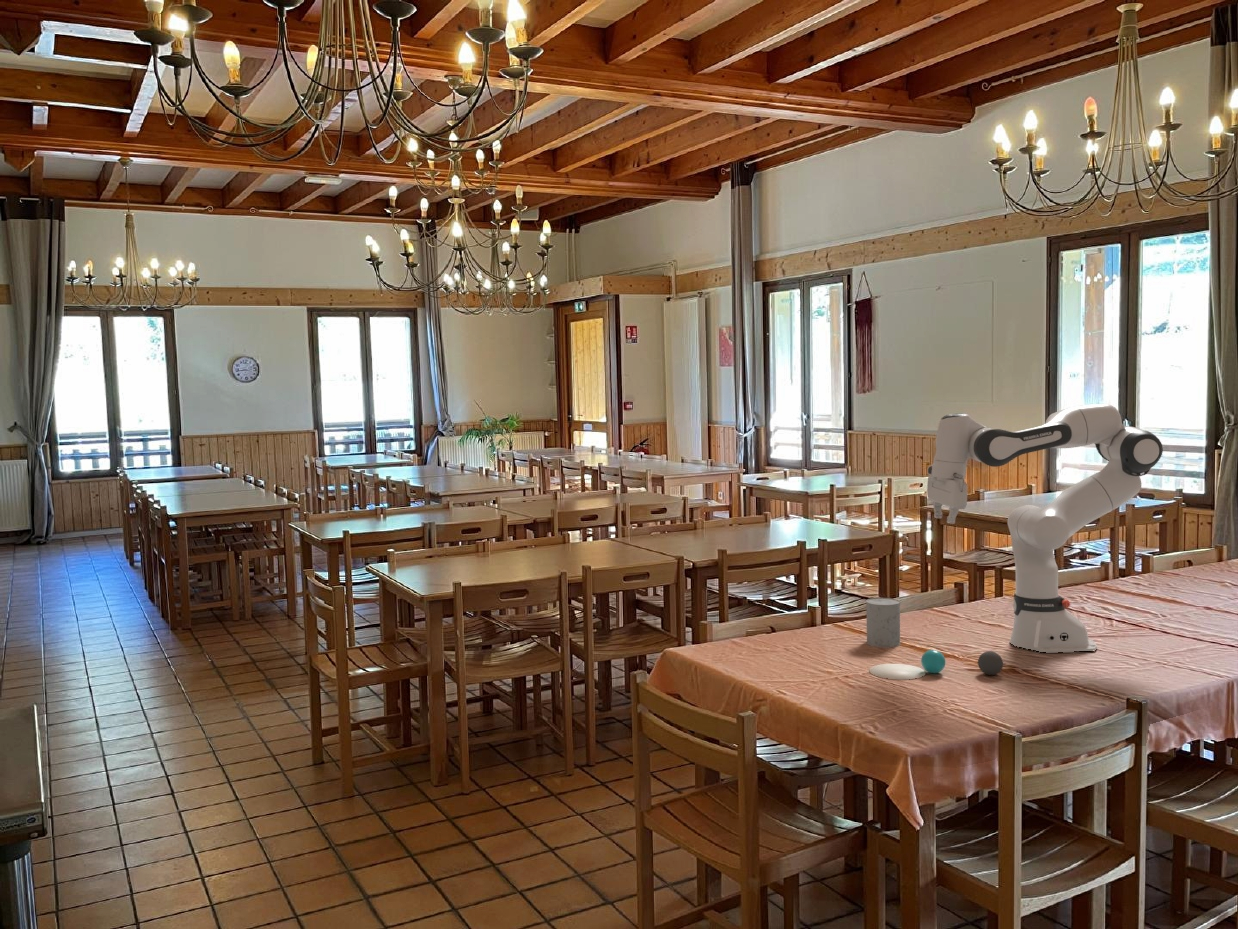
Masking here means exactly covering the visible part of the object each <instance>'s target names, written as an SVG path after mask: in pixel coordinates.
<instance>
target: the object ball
mask: <svg viewBox="0 0 1238 929" xmlns="http://www.w3.org/2000/svg"><path fill="white" fill-rule="evenodd" d="M920 663H921V667H922V669H923V670H924V671H925V672H928V673H930V674H938V673H940V672H942V671H943V670H944V668H945V667H946V658H945V656H944V654H943V653H942V652H940V651H939V650H937V649H930V650H926V651H925V652H924V653H923V654H922V656H921V658H920Z"/></svg>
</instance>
